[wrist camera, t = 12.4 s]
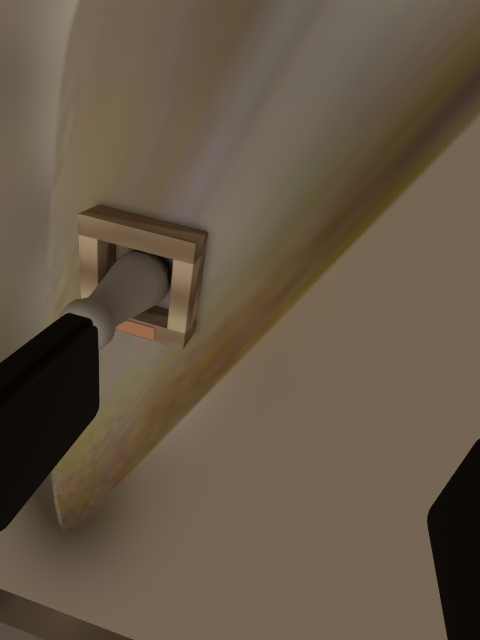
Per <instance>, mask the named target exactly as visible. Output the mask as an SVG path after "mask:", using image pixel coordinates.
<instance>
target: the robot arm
mask: <svg viewBox="0 0 480 640" xmlns="http://www.w3.org/2000/svg"><path fill="white" fill-rule="evenodd" d="M98 409H99V347H98V328H97V327H96V326H94V325H93V321H92V320H91V319H90V318H87V317H83V316H80V315H76V314H73V313H66V314H64V315H63V316H62V317H60V318H59V319H58V320H56V321H55V322H54V323H52V324H51V325H50V326H48V327H47V328H46V329H44V330H43V331H42V332H40V333H39V334H38V335H37V336H35V337H34V338H33V339H31V340H30V341H29V342H27V343H26V344H25V345H23V346H22V347H21V348H19V349H18V350H17V351H16V352H14V353H13V354H11V355H10V356H9V357H8V358H7V359H5V360H4V361H2V362H1V363H0V531H2V530H3V529H5V528H6V527H7V526H8V525H9V523H10V522H11V521H12V520H13V518H14V517H15V516H16V515H17V513H18V512H19V511H20V510H21V508H22V507H23V506H24V505H25V503H26V502H27V501H28V500H29V498H30V497H31V496H32V495H33V493H34V492H35V491H36V490H37V488H38V487H39V486H40V485H41V484H42V482H43V481H44V480H45V478H46V477H47V476H48V475H49V474H50V472H51V471H52V470H53V469H54V467H55V466H56V465H57V464H58V462H59V461H60V460H61V459H62V457H63V456H64V455H65V454H66V452H67V451H68V450H69V449H70V447H71V446H72V445H73V444H74V442H75V441H76V440H77V439H78V437H79V436H80V435H81V434H82V432H83V431H84V430H85V429H86V427H87V426H88V425H89V424H90V422H91V421H92V420H93V419H94V417H95V416H96V414H97V412H98ZM427 524H428V531H429V536H430V542H431V548H432V553H433V558H434V565H435V570H436V576H437V582H438V587H439V593H440V598H441V604H442V610H443V615H444V621H445V627H446V632H447V638H448V640H480V439H478V440H477V441H476V443H475V444H474V445H473V447H472V448H471V450H470V451H469V453H468V454H467V456H466V457H465V458H464V460H463V461H462V463H461V464H460V466H459V467H458V469H457V470H456V472H455V473H454V474H453V476H452V477H451V479H450V480H449V482H448V483H447V485H446V486H445V488H444V489H443V490H442V492H441V493H440V495H439V496H438V498H437V499H436V501H435V502H434V504H433V505H432V507H431V508H430V510H429V513H428V518H427ZM0 640H132V639H130V638H128V637H125V636H122V635H120V634H117V633H115V632H112V631H109V630H107V629H104V628H101V627H99V626H96V625H93V624H91V623H88V622H86V621H83V620H81V619H78V618H75V617H73V616H70V615H67V614H65V613H62V612H60V611H57V610H54V609H52V608H49V607H47V606H44V605H41V604H38V603H36V602H33V601H31V600H28V599H25V598H23V597H20V596H17V595H15V594H12V593H10V592H7V591H5V590H2V589H0Z"/></svg>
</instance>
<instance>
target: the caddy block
mask: <svg viewBox="0 0 480 640" xmlns="http://www.w3.org/2000/svg"><path fill="white" fill-rule="evenodd" d="M78 230H79V255H80V279H81V299H82V298H88V297H89V296H90V295H91V293H92V292H93V291H94V290H95V289H96V287H97V286H98V285H99V283H100V282H101V281H102V279H103V278H104V277H105V276H106V274H107V273H108V272H109V270H110V269H111V268H112V266H113V265H114V264H115V262H116V244H117V245H121V246H124V247H128V248H132V249H136V250H140V251H143V252H147V253H151V254H155V255H159V256H162V257H166V258H170V259H173V270H172V281H171V292H170V304H169V310H168V309H165V308H161V307H157V306H153V307H151V308H149V309H147V310H146V311H144V312H142V313H140V314H138V315H136V316H134V317H132V318H131V319H129V320H127V321H125V322H123V323H121V324H120V325H118V326H116V329H115V330H117V331H120V332H124V333H127V334H131V335H134V336H138V337H141V338H145V339H148V340H151V341H155V342H158V343H162V344H165V345H169V346H172V347H176V348H179V349H182V350H183V349H184V348H185V346H186V345H187V343H188V342H189V340H190V339H191V337H192V336H193V334H194V332H195V324H196V317H197V309H198V302H199V294H200V287H201V279H202V272H203V264H204V257H205V249H206V242H207V234H208V232H204V231H200V230H196V229H192V228H188V227H184V226H180V225H176V224H172V223H168V222H164V221H160V220H156V219H152V218H148V217H144V216H140V215H137V214H133V213H129V212H125V211H121V210H117V209H113V208H109V207H105V206H101V205H97V206H95V207H92V208H90V209H88V210H85V211H83V212H81V213H78Z"/></svg>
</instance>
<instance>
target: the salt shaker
mask: <svg viewBox="0 0 480 640" xmlns="http://www.w3.org/2000/svg"><path fill="white" fill-rule="evenodd" d="M167 270H168V268H167V267H166V265H165V264H164V263H163V262H162V261H161V260H160V259H159V258H158V257H157V255H155V254H147V253H143V252H139V251H135V252H131V253H126V254H123V255H122V256H121V257H120V258H119V259H118V260H117V261H116V262H115V264H114V265H113V266H112V268H111V269H110V270H109V272H108V273H107V274H106V276H105V277H104V278H103V279H102V281H101V282H100V283H99V285H98V286H97V287H96V289H95V290H94V291H93V292H92V293H91V295H90V296H89V297H88V298H82V299H77V300H74V301H72V302H71V303H70V304H69V305H68V306H67V307H66V308H65V309H64V310H63V311H62V312H61V313H60V316H59V318H60V317H62V316H63V315H64V314H66V313H73V314H76V315H80V316H83V317H87V318H90V319H91V320H92V321H93V325H94V326H96V327H97V328H98V347H99V350H100V349H101V348H103V347H104V346H105V345H107V344H108V343H109V342H110V341H111V340H112V339H113V336H114V333H115V329H116V326H118V325H120V324H121V323H123V322H125V321H127V320H129V319H131V318H132V317H134V316H136V315H138V314H140V313H142V312H144V311H146V310H147V309H149V308H151V307H153V306H155V305H156V304H158V303H159V302H160V301H162V300H163V299H164V298H165V295H166V292H167V289H168V286H169V284H168V276H167Z"/></svg>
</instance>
